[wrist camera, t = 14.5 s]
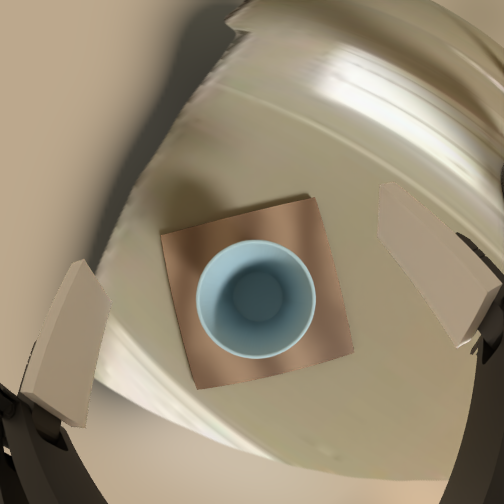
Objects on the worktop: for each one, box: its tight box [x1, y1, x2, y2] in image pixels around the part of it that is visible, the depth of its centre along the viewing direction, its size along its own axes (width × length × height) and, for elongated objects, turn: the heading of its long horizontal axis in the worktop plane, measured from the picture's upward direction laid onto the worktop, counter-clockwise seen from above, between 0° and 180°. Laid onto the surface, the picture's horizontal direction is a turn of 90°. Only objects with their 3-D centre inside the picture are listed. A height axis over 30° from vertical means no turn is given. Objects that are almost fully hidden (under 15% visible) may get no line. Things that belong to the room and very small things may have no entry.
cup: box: [196, 240, 316, 359], centre depth 23 cm, size 8×8×10 cm
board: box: [161, 197, 354, 390], centre depth 28 cm, size 17×17×1 cm
